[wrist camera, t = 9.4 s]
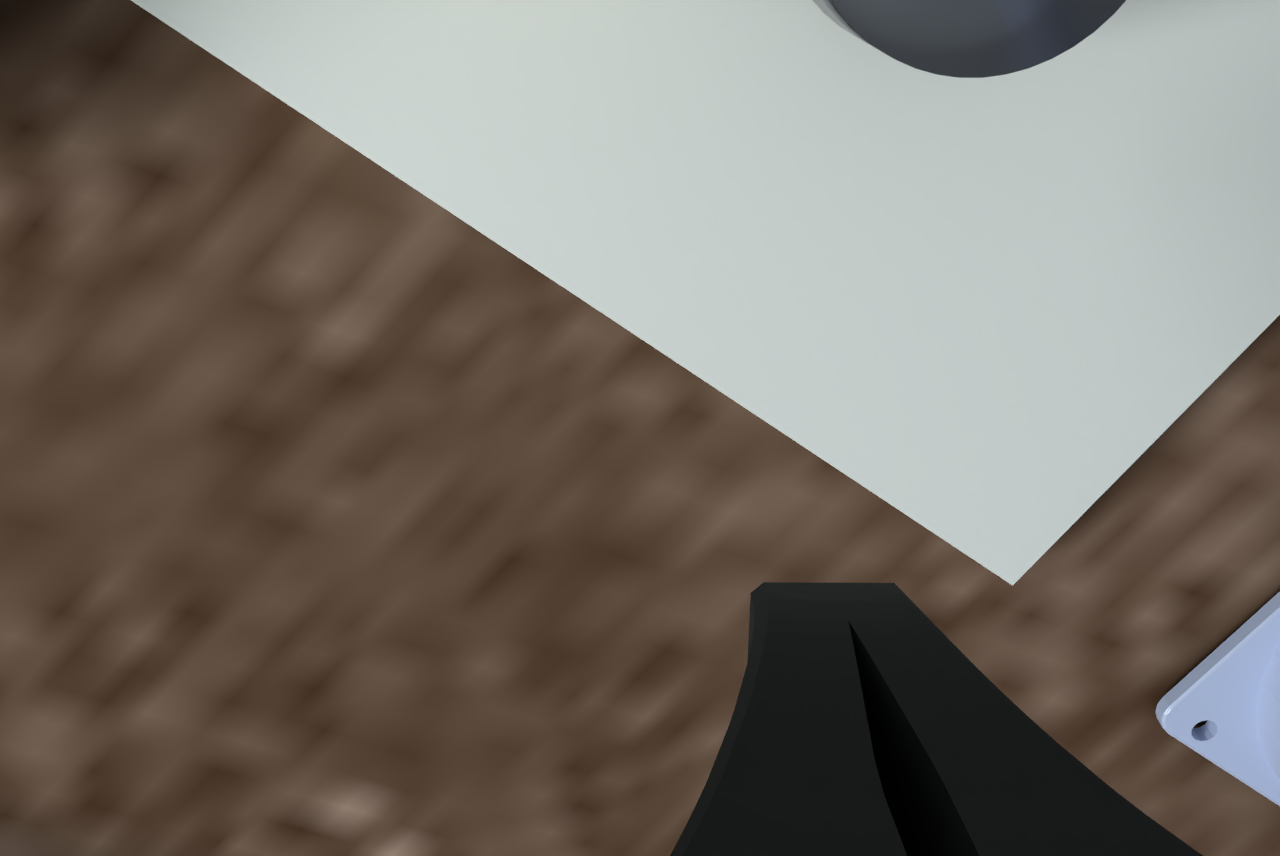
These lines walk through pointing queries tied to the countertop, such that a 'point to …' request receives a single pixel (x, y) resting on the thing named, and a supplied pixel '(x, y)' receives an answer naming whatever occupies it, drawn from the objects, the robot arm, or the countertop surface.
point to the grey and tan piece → (971, 31)
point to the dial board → (844, 214)
